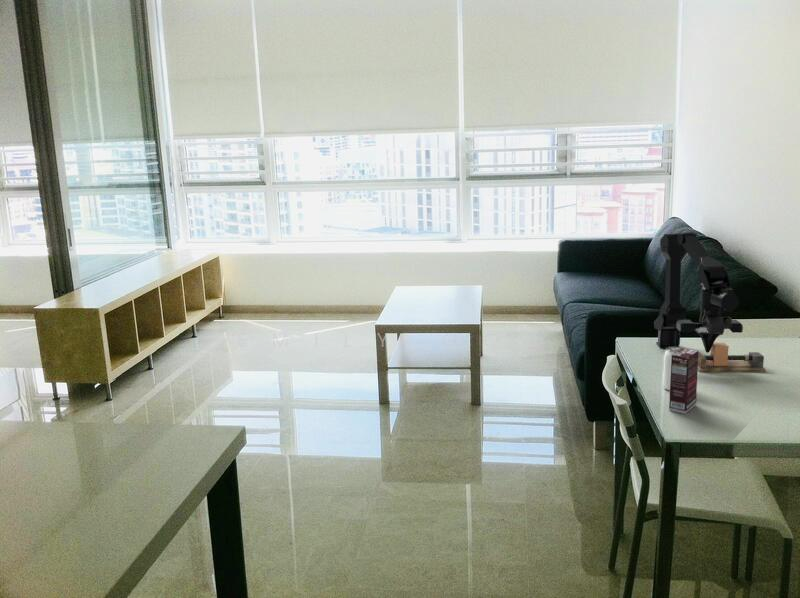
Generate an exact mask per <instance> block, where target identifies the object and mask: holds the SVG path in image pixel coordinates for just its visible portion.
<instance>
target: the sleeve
mask: <svg viewBox="0 0 800 598" xmlns="http://www.w3.org/2000/svg"><path fill="white" fill-rule="evenodd" d="M729 348H730V346H729V345H728V344H726V343H725V342H714V343H713V345H712V348H711V350H710V352H709V354H710V355H714V360H709V361H710V362H711V363H712V364H713V365H714V366H727V361H729V360H728V355H729Z"/></svg>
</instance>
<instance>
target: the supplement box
mask: <svg viewBox="0 0 800 598" xmlns="http://www.w3.org/2000/svg"><path fill="white" fill-rule="evenodd" d="M699 352H700V351H699V349H691V348H685V347H682V349H680V350H679V351H677V352H676V353H674V354H673V355H672V360H671V381H670V391H669V400H668V401H669V403H668V404H669V405H668V410H669V412H670V411H671V412H674V413H677V414H678V413H679V414H684V415H686V414H687V413H688V412H689V411H691V410H692V409H693V408H694V407H695V406H696V405H697V388H698V372H699V371H698V353H699Z"/></svg>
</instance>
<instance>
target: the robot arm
mask: <svg viewBox="0 0 800 598" xmlns="http://www.w3.org/2000/svg"><path fill="white" fill-rule="evenodd" d="M659 244H660V250H661V251H660V252H661V253H662V255H663V257H664V259H665V288H664V289H665V290H664V291H665V294H664V295H665V296H664V302H663V303H662V305H661V306H660V307H659V315H658V316H657V317H656V319H655V320H654V321H653V327H654V329H655V330H658V332H657V334H658V335H657V341H656V344H657V346H658V347H659V348H660V349H666V348H668V347H680V345H681V344H680V343H681V333H693V331H694V332H696V333H697V334H698V335H699V336H700V338H701V341H702V345H703V347H704V351H705V352H706V353H708V354H710V353H711V348H712V345H713V343H715V341H716V340H717V339H718V338H719V336H722V335H723V334H724V333H725V330H729V331H730V332H732V333H736V334H737V333H741V334H742V333H743V331H744V330H743V329H744V326H743V323H741V322H740V321H739V320H737V319H733V318H732V317H731V316H722V311H725V312H729V313H730V312H733V311H734V310H736V309H737V308H738V306H739V302H740V300H739V297H738V295H736V293H734V289H733V288H732V287H733V286H732V281H731V278H730V276H729V273H728V270H727V268H726V267H725V265H723V263H721V261H719V260H717V259H715V258H713V257H712V256H711V255H710V254H709V252H708V251H707V249H705V247H704V246H703V244H702V243H701V242H700V240H699V239H698V237H697V234H696V233H695V232H693V231H685V232H678V233H664V234H663V236H662V237H661V238H660V241H659ZM686 253H687V254H688V256H689V257H690V259H691V260H692V262H693V263H694V264H695V266H696V268H697V269H696V274H697V277H698V279H699V281H700V282H701V283H700V284H699V285H698V288H700V289H701V295H700V296H701V297H700V300H701V301H700V305H699V309H700V311H699V312H700V313H699V317H698V322H693V321H692V320H691V319H687V308H686V307H685V306H684V305H683V304H682V302H681V287H682V284H681V282H682V259H683V258H684V256H685V255H686Z"/></svg>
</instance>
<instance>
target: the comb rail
mask: <svg viewBox="0 0 800 598" xmlns="http://www.w3.org/2000/svg"><path fill="white" fill-rule="evenodd" d="M764 359H765V356H764V355H763V354H762V353H761V352H759V351H750V352H748V354H743V355H742V354H741V355H735V354H734V355H732V354H731V355H729V354H728V361H727V366H714V365H713V364H712V363H711V362H710V360H714V355H709V354H707V355H705V354H702V353H701V352H700V351H699V353H698V371H697V372H699V373H766V371H767V369H765V368H764V362H765V361H764Z"/></svg>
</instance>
